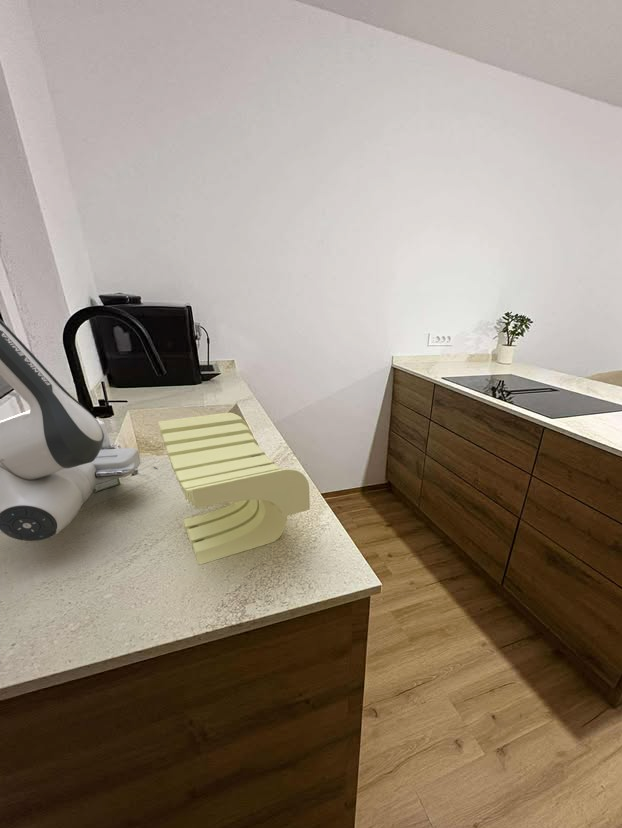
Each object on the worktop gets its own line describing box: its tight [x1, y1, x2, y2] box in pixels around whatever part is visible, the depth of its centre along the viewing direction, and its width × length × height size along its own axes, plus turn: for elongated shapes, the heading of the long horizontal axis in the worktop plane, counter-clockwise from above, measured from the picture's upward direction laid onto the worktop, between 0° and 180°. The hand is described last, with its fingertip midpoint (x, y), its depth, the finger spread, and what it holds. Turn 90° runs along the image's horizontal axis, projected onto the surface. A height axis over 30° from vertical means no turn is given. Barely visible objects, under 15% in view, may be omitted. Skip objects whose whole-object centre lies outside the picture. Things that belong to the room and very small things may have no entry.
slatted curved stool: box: [157, 412, 311, 566], centre depth 67 cm, size 30×16×18 cm, turn 32°
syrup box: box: [92, 417, 121, 494], centre depth 81 cm, size 6×6×14 cm
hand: (92, 449), depth 82 cm, fingers closed on syrup box, 8 cm apart
